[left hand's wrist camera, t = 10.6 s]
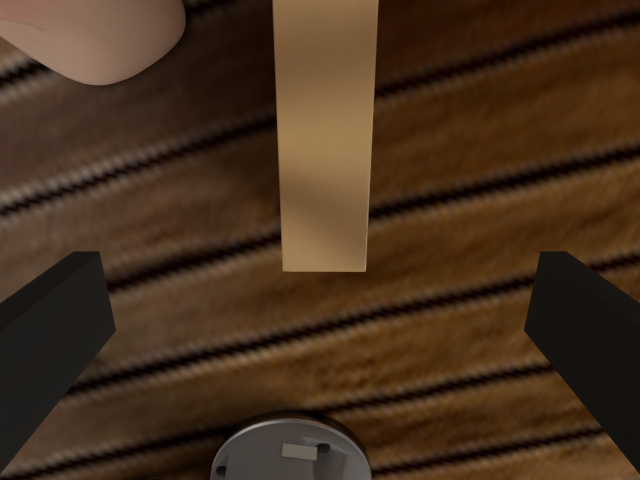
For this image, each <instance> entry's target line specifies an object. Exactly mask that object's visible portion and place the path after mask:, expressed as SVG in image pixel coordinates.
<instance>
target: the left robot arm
mask: <svg viewBox="0 0 640 480" xmlns="http://www.w3.org/2000/svg"><path fill="white" fill-rule="evenodd" d="M115 331H116V328H115V323H114V318H113V314H112V309H111V304H110V300H109V295H108V290H107V285H106V281H105V276H104V271H103V266H102V262H101V257H100V252H72V253H71V254H69V255H68V256H67V257H65V258H64V259H62V260H61V261H59V262H58V263H57V264H55V265H54V266H52V267H51V268H50V269H48V270H47V271H45V272H44V273H43V274H41V275H40V276H38V277H37V278H35V279H34V280H33V281H31V282H30V283H28V284H27V285H26V286H24V287H23V288H21V289H20V290H18V291H17V292H16V293H14V294H13V295H11V296H10V297H9V298H7V299H6V300H4V301H3V302H1V303H0V474H1V472H2V471H3V470H4V469H5V467H6V466H7V465H8V464H9V463H10V461H11V460H12V459H13V458H14V456H15V455H16V454H17V453H18V451H19V450H20V449H21V448H22V446H23V445H24V444H25V443H26V441H27V440H28V439H29V438H30V436H31V435H32V434H33V433H34V432H35V430H36V429H37V428H38V427H39V425H40V424H41V423H42V422H43V420H44V419H45V418H46V417H47V415H48V414H49V413H50V412H51V410H52V409H53V408H54V407H55V405H56V404H57V403H58V402H59V401H60V399H61V398H62V397H63V396H64V394H65V393H66V392H67V391H68V389H69V388H70V387H71V386H72V384H73V383H74V382H75V381H76V379H77V378H78V377H79V376H80V374H81V373H82V372H83V371H84V370H85V368H86V367H87V366H88V365H89V363H90V362H91V361H92V360H93V358H94V357H95V356H96V355H97V353H98V352H99V351H100V350H101V348H102V347H103V346H104V345H105V343H106V342H107V341H108V340H109V339H110V337H111V336H112V335H113V334H114V332H115ZM524 331H525V332H526V334H527V335H528V336H529V337H530V339H531V340H532V341H533V342H534V343H535V345H536V346H537V347H538V348H539V350H540V351H541V352H542V353H543V355H544V356H545V357H546V358H547V360H548V361H549V362H550V363H551V365H552V366H553V367H554V368H555V370H556V371H557V372H558V373H559V374H560V376H561V377H562V378H563V379H564V381H565V382H566V383H567V384H568V386H569V387H570V388H571V389H572V391H573V392H574V393H575V394H576V396H577V397H578V398H579V399H580V401H581V402H582V403H583V404H584V405H585V407H586V408H587V409H588V410H589V412H590V413H591V414H592V415H593V417H594V418H595V419H596V420H597V422H598V423H599V424H600V425H601V427H602V428H603V429H604V430H605V432H606V433H607V434H608V435H609V436H610V438H611V439H612V440H613V441H614V443H615V444H616V445H617V446H618V448H619V449H620V450H621V451H622V453H623V454H624V455H625V456H626V458H627V459H628V460H629V461H630V463H631V464H632V465H633V466H634V467H635V469H636V470H637V471H638V472H639V474H640V303H639V302H637V301H636V300H634V299H633V298H631V297H630V296H629V295H627V294H626V293H624V292H623V291H622V290H620V289H619V288H617V287H616V286H614V285H613V284H612V283H610V282H609V281H607V280H606V279H605V278H603V277H602V276H600V275H599V274H597V273H596V272H595V271H593V270H592V269H590V268H589V267H588V266H586V265H585V264H583V263H582V262H581V261H579V260H578V259H576V258H575V257H573V256H572V255H571V254H569V253H568V252H540V257H539V262H538V266H537V271H536V276H535V281H534V285H533V290H532V295H531V299H530V304H529V309H528V314H527V318H526V323H525V328H524ZM153 480H160V479H153ZM210 480H371V470H370V462H369V458H368V455H367V452H366V450H365V448H364V447H363V445H362V443H361V442H360V441H359V440H358V438H357V437H356V436H355V435H354V434H353V433H351V432H350V431H349V430H348V429H346V428H345V427H343V426H342V425H340V424H338V423H337V422H335V421H332V420H330V419H328V418H325V417H322V416H319V415H315V414H311V413H305V412H296V411H283V412H273V413H268V414H263V415H260V416H257V417H254V418H251V419H249V420H247V421H245V422H243V423H241V424H240V425H238V426H237V427H235V428H234V429H233V430H231V431H230V432H229V433H228V434H227V435H226V436H225V438H224V439H223V440H222V442H221V443H220V445H219V447H218V449H217V451H216V454H215V458H214V461H213V465H212V469H211V477H210Z"/></svg>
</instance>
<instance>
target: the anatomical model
mask: <svg viewBox="0 0 640 480" xmlns="http://www.w3.org/2000/svg"><path fill="white" fill-rule="evenodd" d="M185 25H186V15H185V9H184V5H183V2H182V0H0V36H1V37H2V38H4V39H5V40H7V41H8V42H10V43H11V44H13V45H14V46H15V47H17V48H18V49H20V50H21V51H23V52H24V53H26V54H28V55H29V56H31V57H32V58H34V59H35V60H37V61H38V62H40V63H42V64H44V65H45V66H47V67H49V68H50V69H52V70H54V71H56V72H58V73H60V74H62V75H64V76H65V77H68V78H70V79H73V80H75V81H78V82H81V83H85V84H90V85H107V84H113V83H116V82H119V81H122V80H125V79H128V78H130V77H132V76H134V75H136V74H138V73H140V72H141V71H143V70H144V69H146V68H148V67H149V66H151V65H152V64H154V63H155V62H156V61H158V60H159V59H160V58H162V57H163V56H164V55H165V54H166V53H168V52H169V51H170V50H171V49H172V48H173V47H174V46H175V45H176V44H177V42H178V41H179V40H180V38H181V36H182V35H183V32H184V30H185Z"/></svg>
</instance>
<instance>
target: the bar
mask: <svg viewBox="0 0 640 480" xmlns="http://www.w3.org/2000/svg"><path fill="white" fill-rule="evenodd" d="M272 1H273V27H274V54H275V81H276V107H277V134H278V160H279V187H280V213H281V240H282V266H283V271H324V272H365V271H366V256H367V235H368V214H369V192H370V171H371V149H372V128H373V107H374V85H375V64H376V42H377V21H378V0H272Z"/></svg>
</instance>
